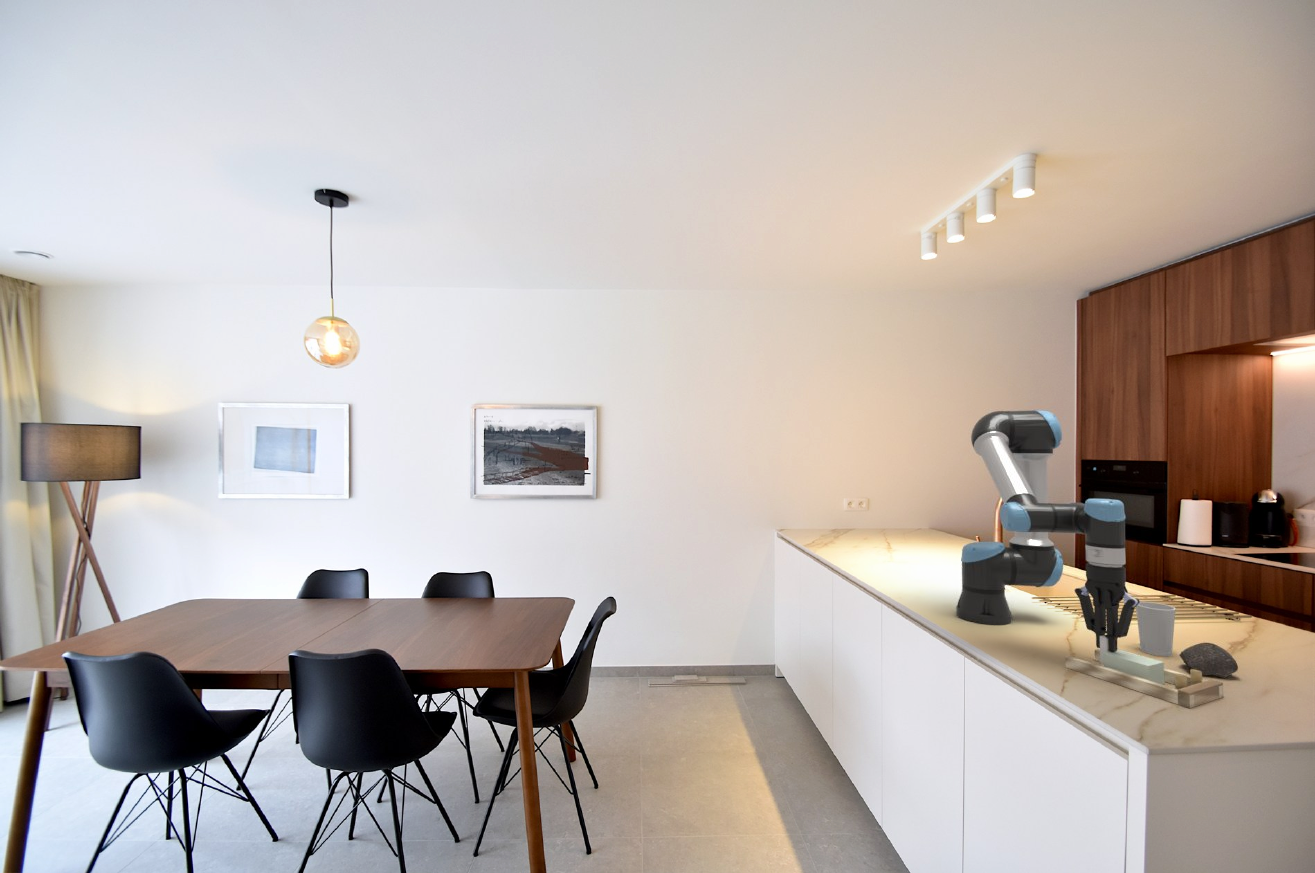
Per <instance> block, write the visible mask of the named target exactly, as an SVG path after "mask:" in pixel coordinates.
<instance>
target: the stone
mask: <svg viewBox="0 0 1315 873" xmlns="http://www.w3.org/2000/svg"><path fill="white" fill-rule="evenodd" d="M1179 657H1180V658H1181V660H1182V661H1183V664H1185V665H1187V666H1189V667H1190V670H1191V669H1194V670H1199V671H1201V672H1202V677H1203V676H1216V677H1220V678H1223V679H1224V678H1228V677H1229V676H1230V675H1232V674H1234V673H1236V672H1238V670H1239V666H1238V664H1237V663H1238V662H1237V661H1236V659H1235V658H1234V657H1233V656H1232V654H1231V653H1230V652H1228V651H1227V650H1226V649H1225V648H1223V647H1221V646H1219V645H1218V644H1215V643H1212V642H1199V643H1198V644H1194V645H1192V646H1189V647H1187V648H1185V649H1184V650H1183V651H1181V652H1180V653H1179Z"/></svg>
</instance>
